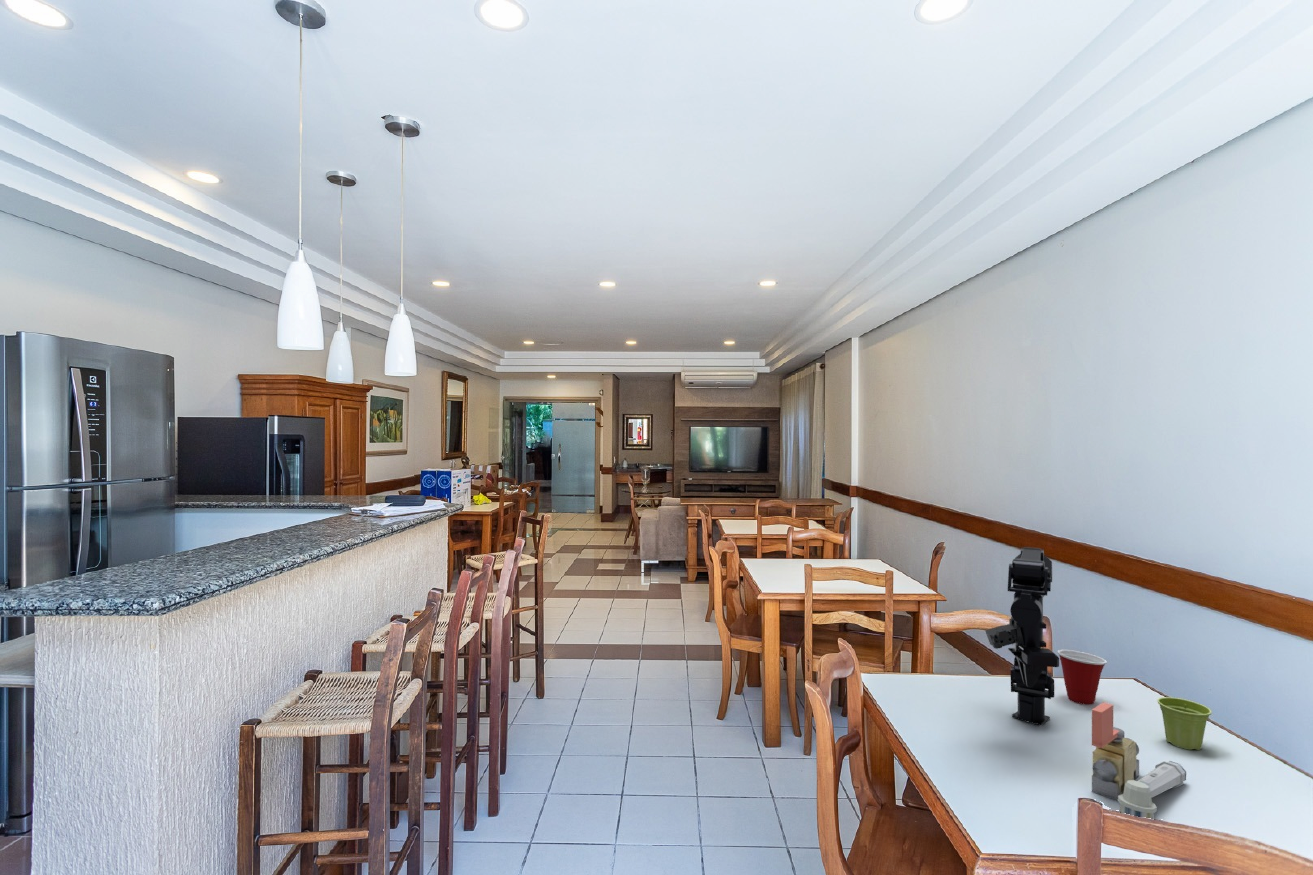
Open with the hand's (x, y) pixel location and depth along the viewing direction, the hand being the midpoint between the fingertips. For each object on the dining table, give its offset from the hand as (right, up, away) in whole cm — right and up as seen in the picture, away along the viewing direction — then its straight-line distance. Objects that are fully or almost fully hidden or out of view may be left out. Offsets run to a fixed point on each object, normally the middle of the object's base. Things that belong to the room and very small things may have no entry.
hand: (1028, 685), depth 145 cm
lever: (+3, -2, -22) cm, 22 cm away
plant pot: (+34, -13, -2) cm, 36 cm away
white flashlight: (+9, -12, -25) cm, 29 cm away
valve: (+6, -12, -20) cm, 23 cm away
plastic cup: (+27, -13, +23) cm, 38 cm away
